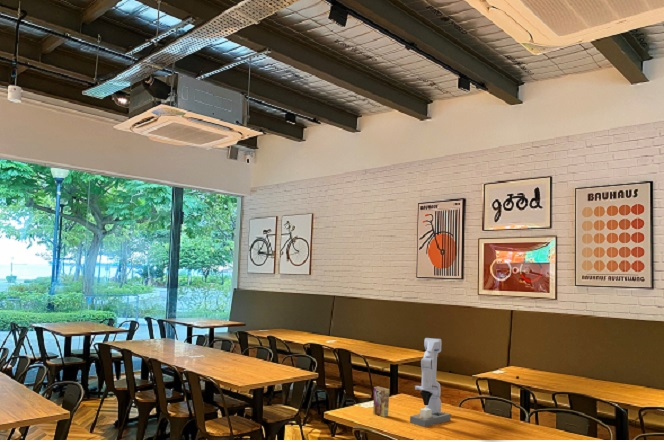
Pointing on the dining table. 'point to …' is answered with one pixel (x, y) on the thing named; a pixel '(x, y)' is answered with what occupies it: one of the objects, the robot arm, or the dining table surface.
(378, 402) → the candy box
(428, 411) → the plug
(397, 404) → the dining table surface
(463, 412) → the dining table surface
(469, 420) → the dining table surface
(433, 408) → the robot arm
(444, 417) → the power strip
